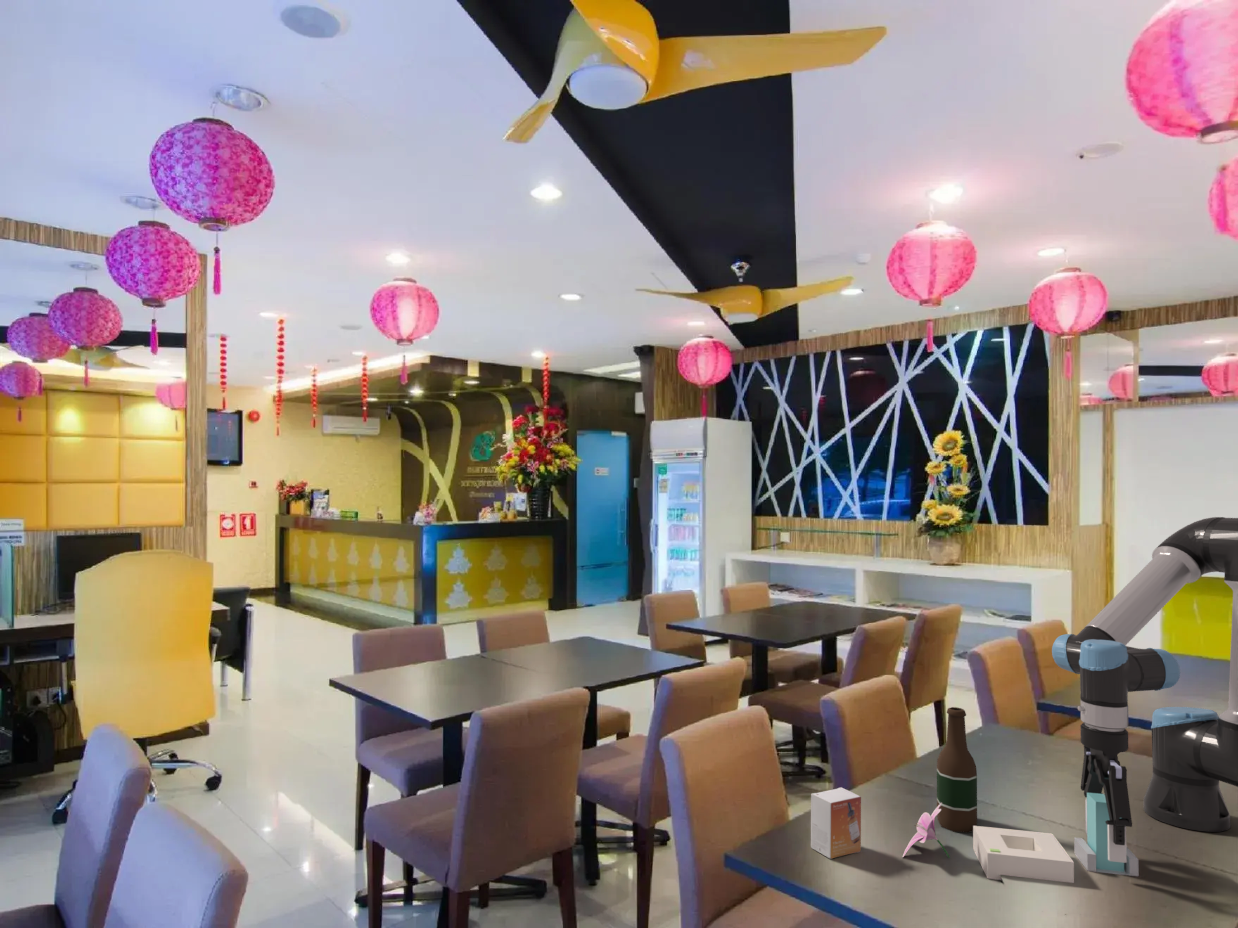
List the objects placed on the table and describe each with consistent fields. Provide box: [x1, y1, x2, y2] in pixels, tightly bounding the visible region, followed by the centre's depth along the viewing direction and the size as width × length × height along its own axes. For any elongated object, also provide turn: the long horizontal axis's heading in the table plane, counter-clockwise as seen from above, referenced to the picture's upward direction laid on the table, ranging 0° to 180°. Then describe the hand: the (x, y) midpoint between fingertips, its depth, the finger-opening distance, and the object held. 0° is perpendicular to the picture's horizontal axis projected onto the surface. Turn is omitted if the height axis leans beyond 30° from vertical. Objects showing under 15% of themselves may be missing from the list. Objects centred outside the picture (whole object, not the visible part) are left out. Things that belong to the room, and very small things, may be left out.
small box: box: [810, 786, 862, 859], centre depth 151 cm, size 8×6×10 cm
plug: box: [1086, 793, 1124, 872], centre depth 144 cm, size 4×4×12 cm
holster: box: [1073, 836, 1140, 877], centre depth 144 cm, size 8×7×4 cm
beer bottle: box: [936, 706, 978, 834], centre depth 163 cm, size 8×8×24 cm
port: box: [972, 825, 1075, 884], centre depth 144 cm, size 14×12×5 cm
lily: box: [902, 803, 950, 858], centre depth 150 cm, size 12×12×10 cm
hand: (1105, 847), depth 144 cm, fingers open, 10 cm apart
